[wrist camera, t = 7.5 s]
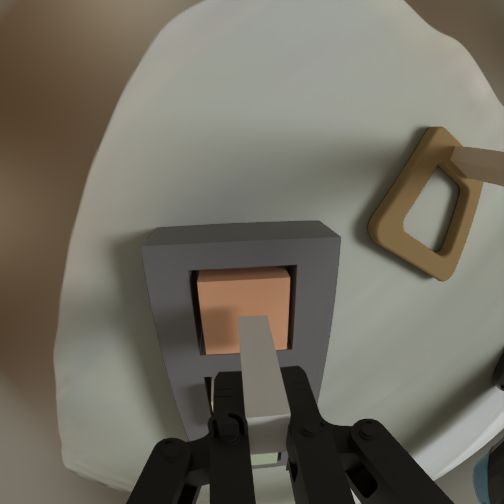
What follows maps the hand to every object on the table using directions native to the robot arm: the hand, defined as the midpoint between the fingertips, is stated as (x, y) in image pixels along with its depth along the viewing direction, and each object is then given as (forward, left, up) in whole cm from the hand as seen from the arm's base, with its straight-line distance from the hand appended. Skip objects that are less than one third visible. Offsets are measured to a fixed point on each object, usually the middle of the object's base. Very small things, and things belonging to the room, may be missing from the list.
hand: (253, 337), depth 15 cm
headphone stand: (-16, -6, -6) cm, 18 cm away
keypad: (0, +8, -6) cm, 10 cm away
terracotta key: (0, 0, -5) cm, 5 cm away
